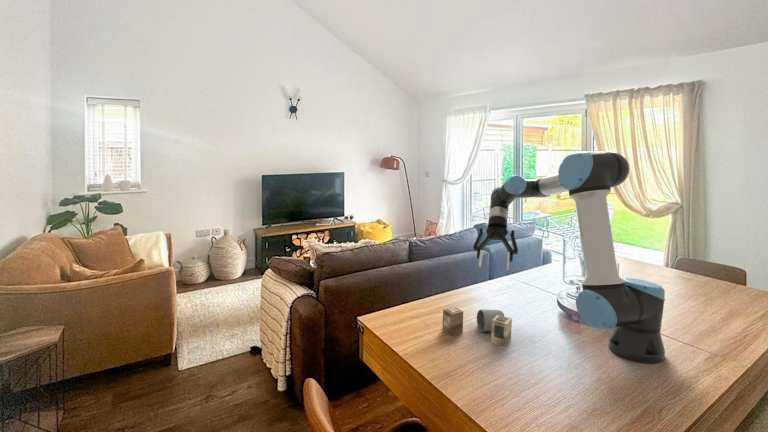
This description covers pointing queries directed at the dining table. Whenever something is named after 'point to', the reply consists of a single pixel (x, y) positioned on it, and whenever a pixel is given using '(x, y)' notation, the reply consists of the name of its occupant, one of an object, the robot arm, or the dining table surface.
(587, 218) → the robot arm
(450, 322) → the walnut numeral block
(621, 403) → the dining table surface
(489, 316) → the ceramic mug
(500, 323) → the beige framed block
